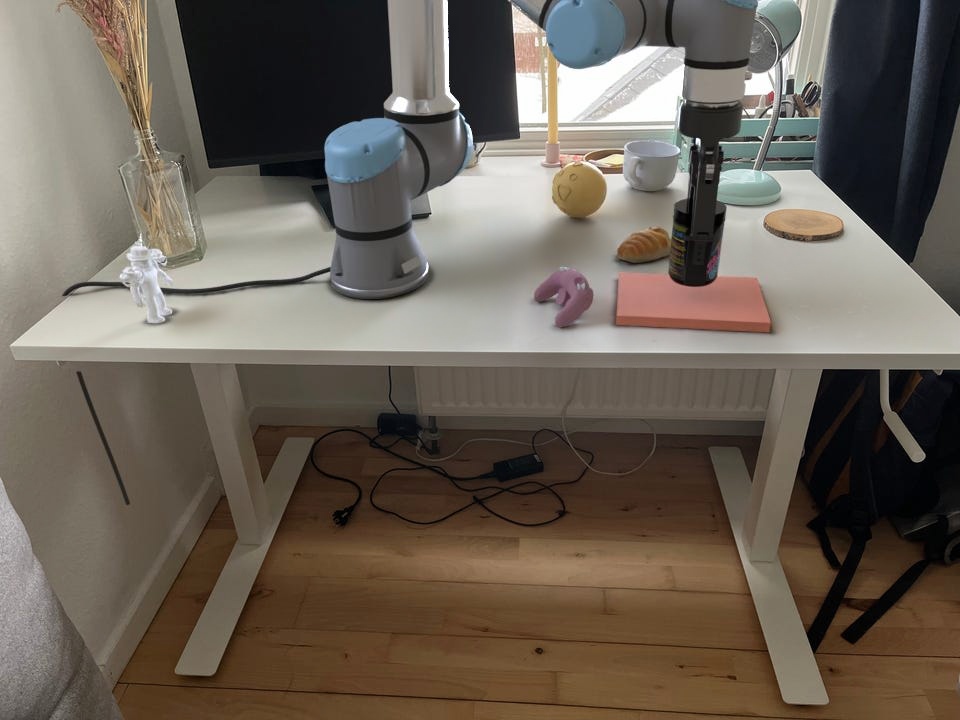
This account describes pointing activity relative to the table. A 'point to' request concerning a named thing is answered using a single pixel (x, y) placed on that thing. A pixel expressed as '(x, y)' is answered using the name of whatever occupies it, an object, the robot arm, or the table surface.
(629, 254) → the pastry
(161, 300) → the hat wearing toy figure
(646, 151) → the teacup
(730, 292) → the foam mat
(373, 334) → the table surface
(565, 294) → the video game controller
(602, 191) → the stress ball
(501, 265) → the table surface
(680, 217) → the supplement container
